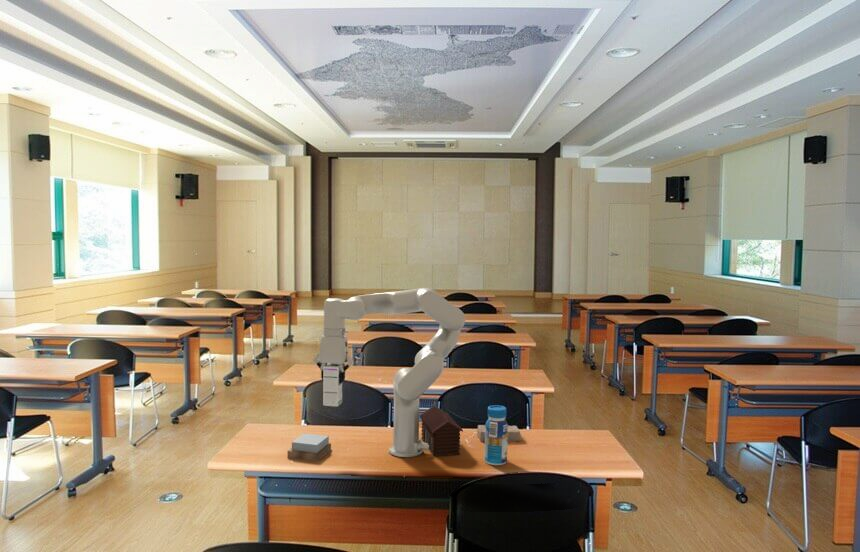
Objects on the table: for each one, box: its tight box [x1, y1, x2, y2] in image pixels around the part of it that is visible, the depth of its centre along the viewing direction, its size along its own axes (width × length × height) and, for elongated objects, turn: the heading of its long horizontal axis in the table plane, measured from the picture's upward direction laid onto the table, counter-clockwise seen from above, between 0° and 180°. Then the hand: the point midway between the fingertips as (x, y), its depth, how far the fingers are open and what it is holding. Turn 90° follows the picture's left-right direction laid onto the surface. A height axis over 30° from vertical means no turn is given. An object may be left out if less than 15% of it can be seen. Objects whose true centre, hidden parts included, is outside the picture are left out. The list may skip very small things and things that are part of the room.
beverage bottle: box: [484, 404, 509, 466], centre depth 222 cm, size 8×8×20 cm
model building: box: [419, 401, 464, 458], centre depth 236 cm, size 21×12×15 cm, turn 14°
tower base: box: [287, 442, 332, 462], centre depth 228 cm, size 12×12×3 cm
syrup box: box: [322, 364, 344, 407], centre depth 224 cm, size 6×6×14 cm
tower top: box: [291, 433, 330, 453], centre depth 227 cm, size 10×10×3 cm
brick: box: [476, 424, 522, 443], centre depth 248 cm, size 17×8×5 cm, turn 96°
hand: (333, 380), depth 224 cm, fingers closed on syrup box, 5 cm apart
